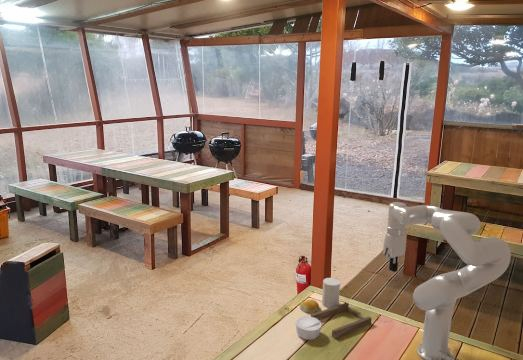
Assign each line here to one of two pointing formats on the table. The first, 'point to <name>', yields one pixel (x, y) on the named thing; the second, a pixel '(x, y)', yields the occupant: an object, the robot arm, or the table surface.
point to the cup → (330, 292)
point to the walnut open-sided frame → (347, 327)
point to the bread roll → (309, 306)
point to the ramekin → (308, 327)
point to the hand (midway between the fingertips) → (393, 270)
